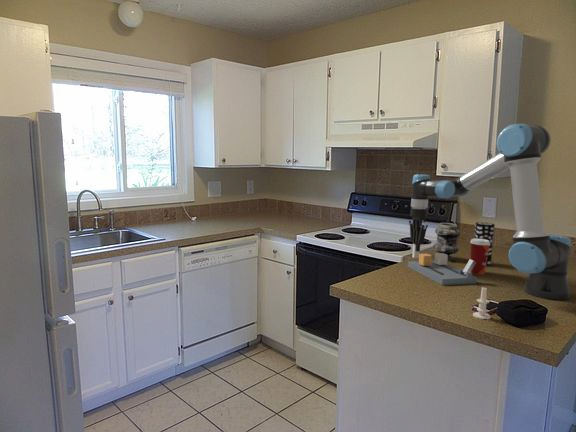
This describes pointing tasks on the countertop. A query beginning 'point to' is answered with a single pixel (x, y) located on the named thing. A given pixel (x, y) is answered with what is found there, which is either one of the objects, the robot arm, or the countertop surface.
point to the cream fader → (441, 258)
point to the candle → (482, 306)
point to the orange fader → (425, 259)
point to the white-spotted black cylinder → (485, 236)
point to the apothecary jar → (447, 239)
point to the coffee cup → (479, 255)
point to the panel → (443, 273)
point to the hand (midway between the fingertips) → (415, 257)
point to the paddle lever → (469, 266)
